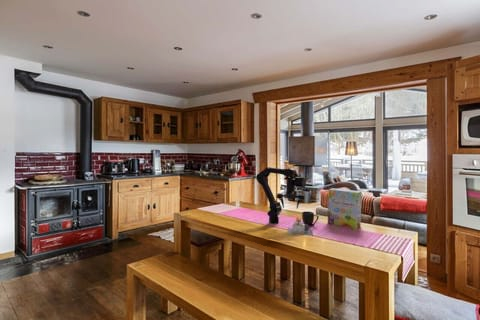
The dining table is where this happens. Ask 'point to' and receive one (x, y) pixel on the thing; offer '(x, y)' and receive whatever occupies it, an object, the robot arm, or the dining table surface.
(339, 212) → the snack box
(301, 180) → the robot arm
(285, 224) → the dining table surface
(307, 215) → the mug
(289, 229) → the slate board
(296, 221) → the plunger
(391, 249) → the dining table surface
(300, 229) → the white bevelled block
